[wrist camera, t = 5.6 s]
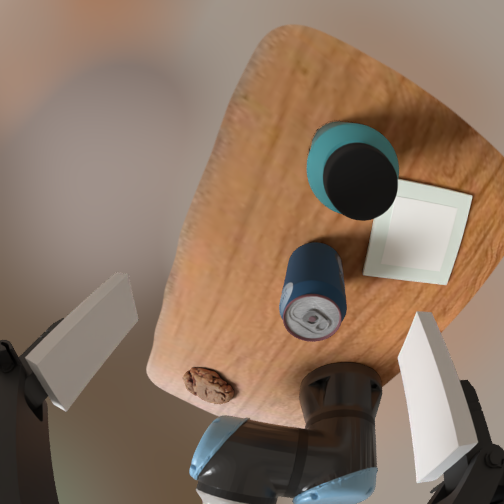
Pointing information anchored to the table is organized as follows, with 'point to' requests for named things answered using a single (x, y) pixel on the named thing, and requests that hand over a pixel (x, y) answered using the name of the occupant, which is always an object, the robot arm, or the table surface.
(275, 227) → the table surface
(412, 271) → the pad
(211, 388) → the cookie
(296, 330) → the soda can
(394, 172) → the beverage bottle
